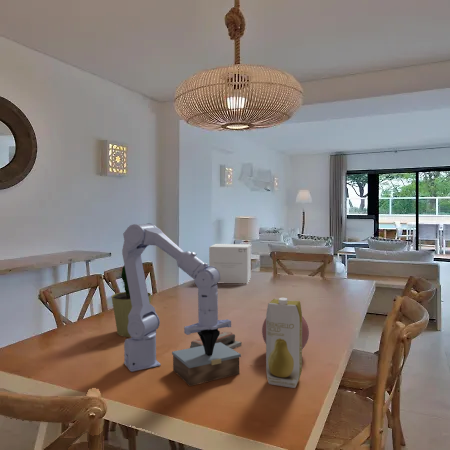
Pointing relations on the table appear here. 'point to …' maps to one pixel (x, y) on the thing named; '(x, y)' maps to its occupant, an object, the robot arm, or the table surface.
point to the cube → (231, 262)
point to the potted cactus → (123, 307)
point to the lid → (199, 358)
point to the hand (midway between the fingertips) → (208, 354)
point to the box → (205, 371)
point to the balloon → (304, 332)
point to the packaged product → (221, 340)
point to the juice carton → (284, 342)
